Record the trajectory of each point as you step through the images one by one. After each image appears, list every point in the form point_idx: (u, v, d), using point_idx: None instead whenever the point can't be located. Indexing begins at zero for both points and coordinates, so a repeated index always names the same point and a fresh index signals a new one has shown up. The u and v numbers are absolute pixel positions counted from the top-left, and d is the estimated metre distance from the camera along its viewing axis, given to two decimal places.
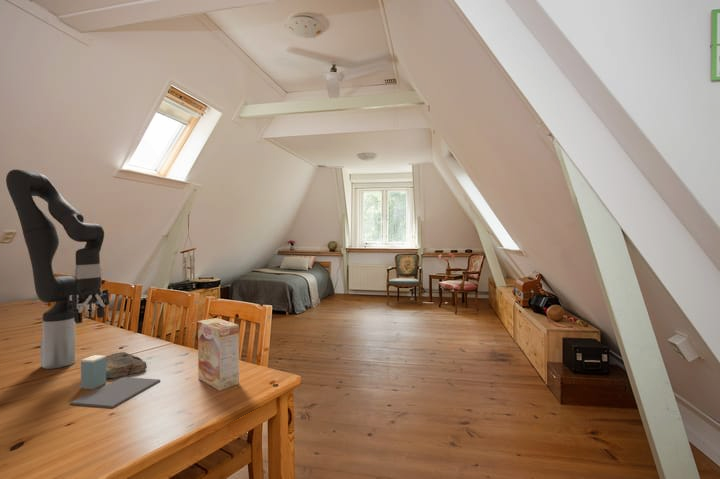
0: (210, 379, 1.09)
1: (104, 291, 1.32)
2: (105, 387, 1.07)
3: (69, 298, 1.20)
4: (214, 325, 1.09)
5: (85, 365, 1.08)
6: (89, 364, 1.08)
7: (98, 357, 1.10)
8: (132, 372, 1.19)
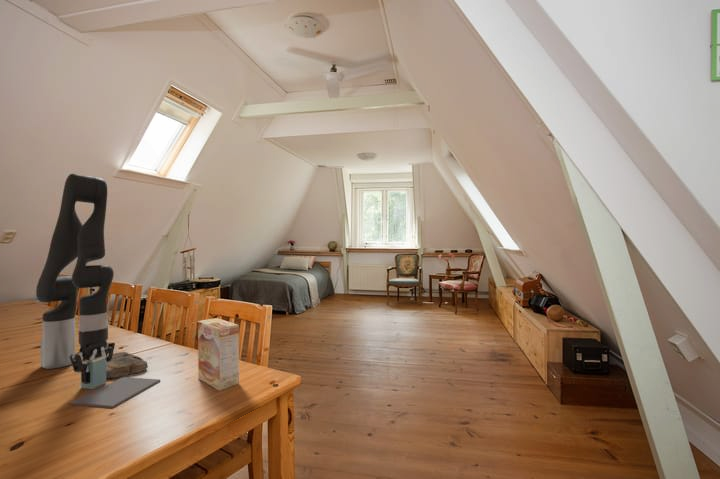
0: (210, 379, 1.09)
1: (110, 344, 1.15)
2: (105, 387, 1.07)
3: (72, 359, 1.04)
4: (214, 325, 1.09)
5: (85, 365, 1.08)
6: None
7: (98, 357, 1.10)
8: (133, 372, 1.20)
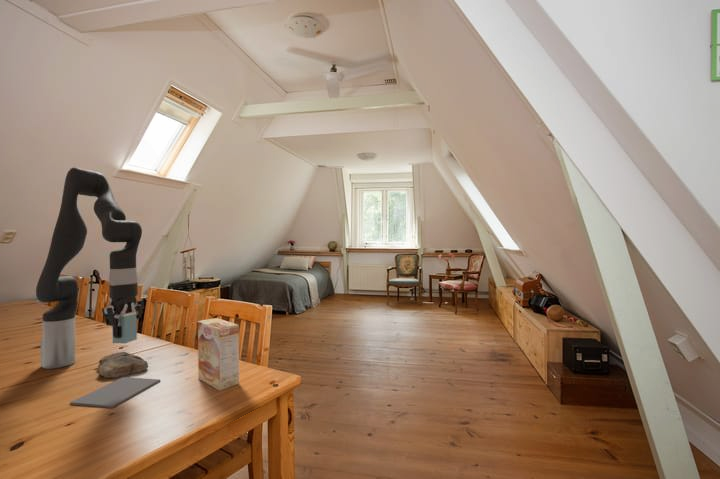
0: (210, 379, 1.09)
1: (139, 302, 1.15)
2: (105, 387, 1.07)
3: (104, 312, 1.03)
4: (214, 325, 1.09)
5: (116, 320, 1.07)
6: None
7: None
8: (134, 371, 1.20)
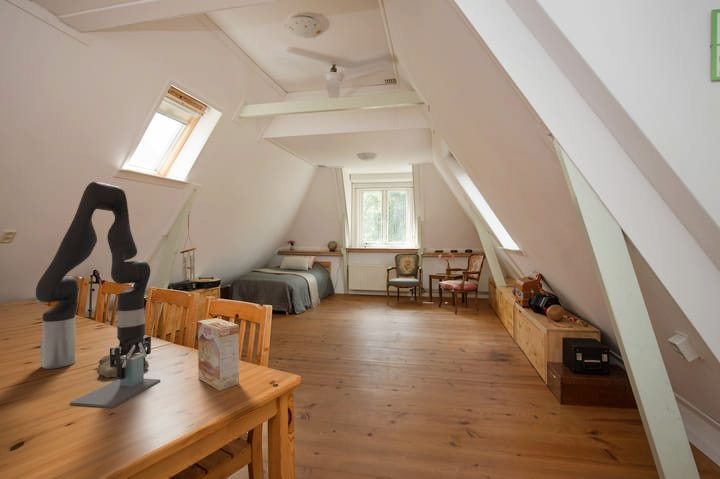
0: (210, 379, 1.09)
1: (146, 338, 1.15)
2: (105, 387, 1.07)
3: (111, 352, 1.03)
4: (214, 325, 1.09)
5: None
6: (128, 362, 1.08)
7: (136, 355, 1.10)
8: None
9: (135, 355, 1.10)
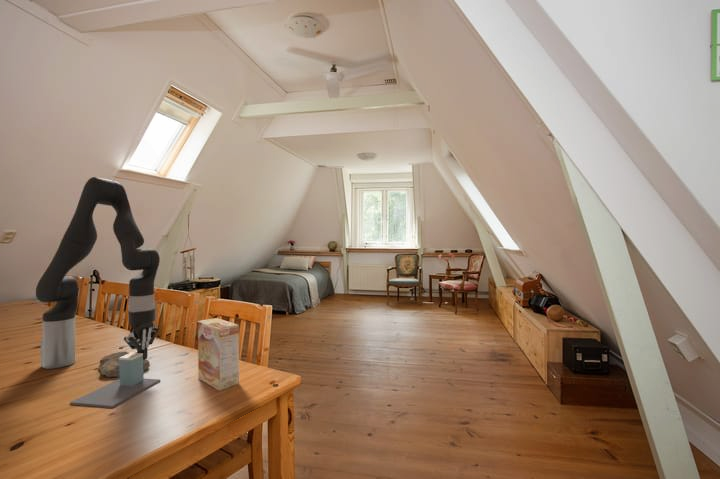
0: (210, 379, 1.09)
1: (155, 328, 1.19)
2: (105, 387, 1.07)
3: (126, 341, 1.09)
4: (214, 325, 1.09)
5: (123, 363, 1.08)
6: (127, 362, 1.07)
7: (135, 355, 1.10)
8: None
9: (134, 355, 1.10)
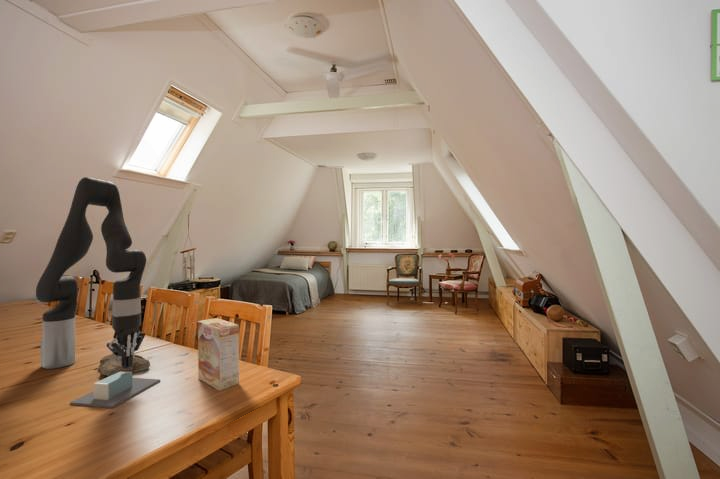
0: (210, 379, 1.09)
1: (141, 333, 1.13)
2: None
3: (109, 347, 1.03)
4: (214, 325, 1.09)
5: None
6: None
7: (104, 390, 0.99)
8: (136, 370, 1.21)
9: (103, 391, 0.99)
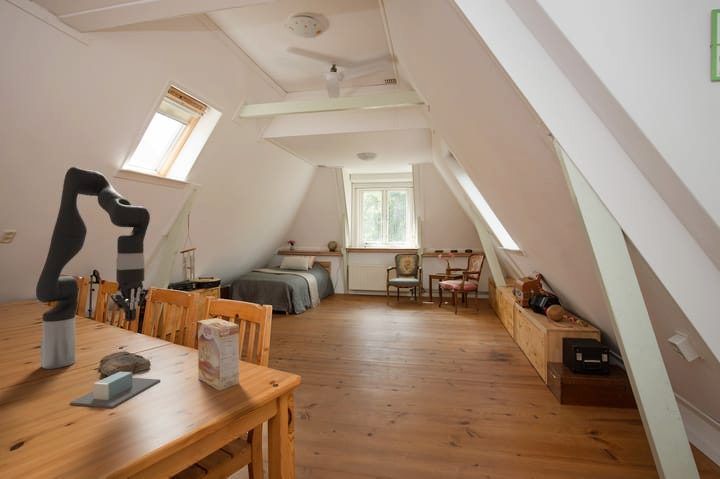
0: (210, 379, 1.09)
1: (144, 290, 1.15)
2: None
3: (113, 299, 1.05)
4: (214, 325, 1.09)
5: None
6: None
7: (104, 390, 0.99)
8: (137, 370, 1.21)
9: (103, 391, 0.99)
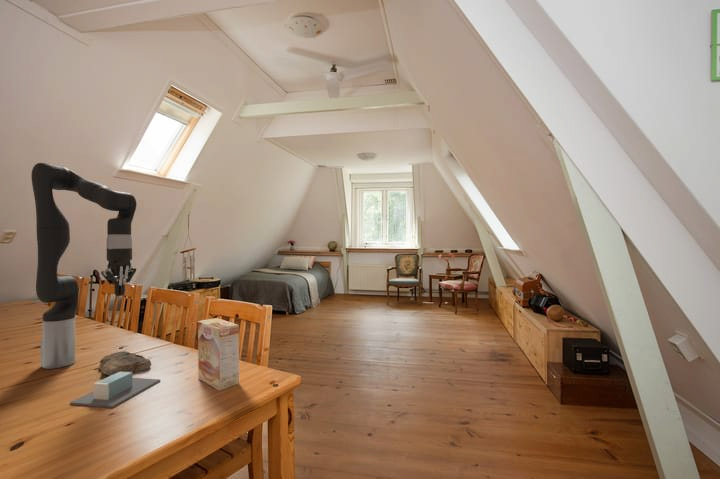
0: (210, 379, 1.09)
1: (132, 268, 1.27)
2: None
3: (104, 275, 1.17)
4: (214, 325, 1.09)
5: None
6: None
7: (104, 390, 0.99)
8: (137, 370, 1.21)
9: (103, 391, 0.99)
